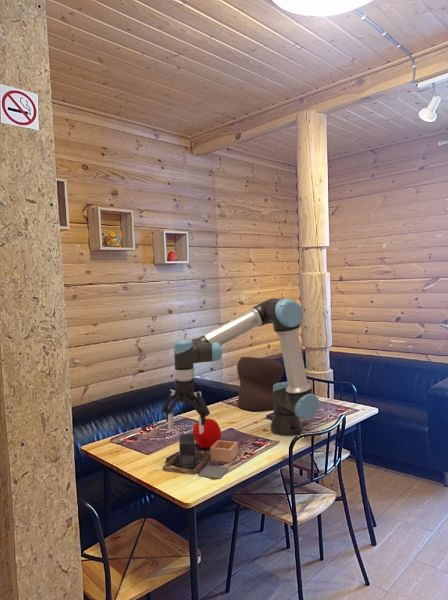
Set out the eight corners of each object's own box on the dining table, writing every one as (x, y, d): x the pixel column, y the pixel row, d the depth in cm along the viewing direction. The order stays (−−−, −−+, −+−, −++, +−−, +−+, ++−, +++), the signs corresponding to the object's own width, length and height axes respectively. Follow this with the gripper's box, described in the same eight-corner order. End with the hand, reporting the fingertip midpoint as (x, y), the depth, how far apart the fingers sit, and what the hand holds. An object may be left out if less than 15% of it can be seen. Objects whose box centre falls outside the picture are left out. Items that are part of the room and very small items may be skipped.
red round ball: (216, 456, 192) (206, 446, 204) (230, 430, 194) (219, 421, 206) (192, 445, 188) (183, 435, 200) (206, 417, 190) (197, 410, 202)
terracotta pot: (238, 453, 187) (237, 442, 186) (231, 462, 178) (230, 450, 178) (218, 451, 190) (217, 440, 189) (210, 459, 181) (210, 447, 181)
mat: (228, 468, 172) (228, 467, 172) (220, 479, 164) (220, 478, 164) (207, 466, 175) (207, 465, 175) (197, 476, 167) (197, 475, 167)
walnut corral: (211, 456, 185) (211, 453, 185) (194, 474, 168) (194, 471, 168) (182, 453, 189) (182, 449, 189) (162, 470, 173) (162, 466, 173)
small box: (180, 458, 184) (179, 433, 183) (196, 457, 184) (194, 432, 184) (179, 469, 173) (178, 443, 173) (196, 468, 174) (195, 442, 173)
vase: (287, 411, 241) (285, 356, 240) (238, 412, 242) (236, 358, 240) (281, 397, 268) (280, 348, 266) (237, 399, 268) (235, 350, 267)
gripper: (216, 378, 176) (218, 431, 177) (161, 375, 185) (163, 425, 186) (209, 382, 169) (211, 437, 170) (152, 379, 178) (154, 431, 179)
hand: (186, 431), depth 178 cm, fingers open, 13 cm apart
